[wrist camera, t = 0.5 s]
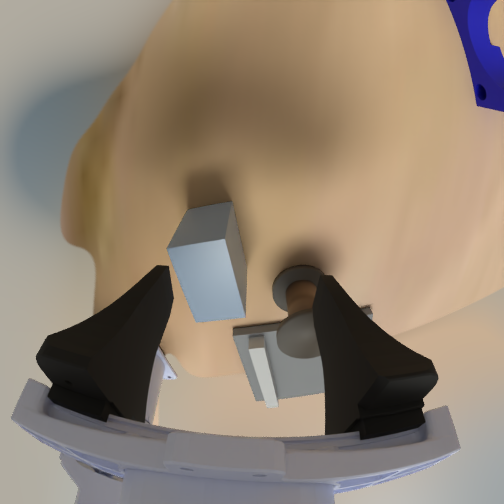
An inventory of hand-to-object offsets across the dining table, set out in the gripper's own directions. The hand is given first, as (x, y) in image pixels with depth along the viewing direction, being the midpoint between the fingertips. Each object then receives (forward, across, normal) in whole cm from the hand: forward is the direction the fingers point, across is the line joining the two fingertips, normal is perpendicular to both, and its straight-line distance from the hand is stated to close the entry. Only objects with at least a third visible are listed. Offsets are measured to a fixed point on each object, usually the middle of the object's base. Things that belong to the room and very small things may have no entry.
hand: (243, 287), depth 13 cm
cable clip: (+10, -19, -19) cm, 29 cm away
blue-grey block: (+9, +2, +3) cm, 10 cm away
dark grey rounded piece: (+9, -5, +7) cm, 12 cm away
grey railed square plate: (+9, -7, +18) cm, 21 cm away
